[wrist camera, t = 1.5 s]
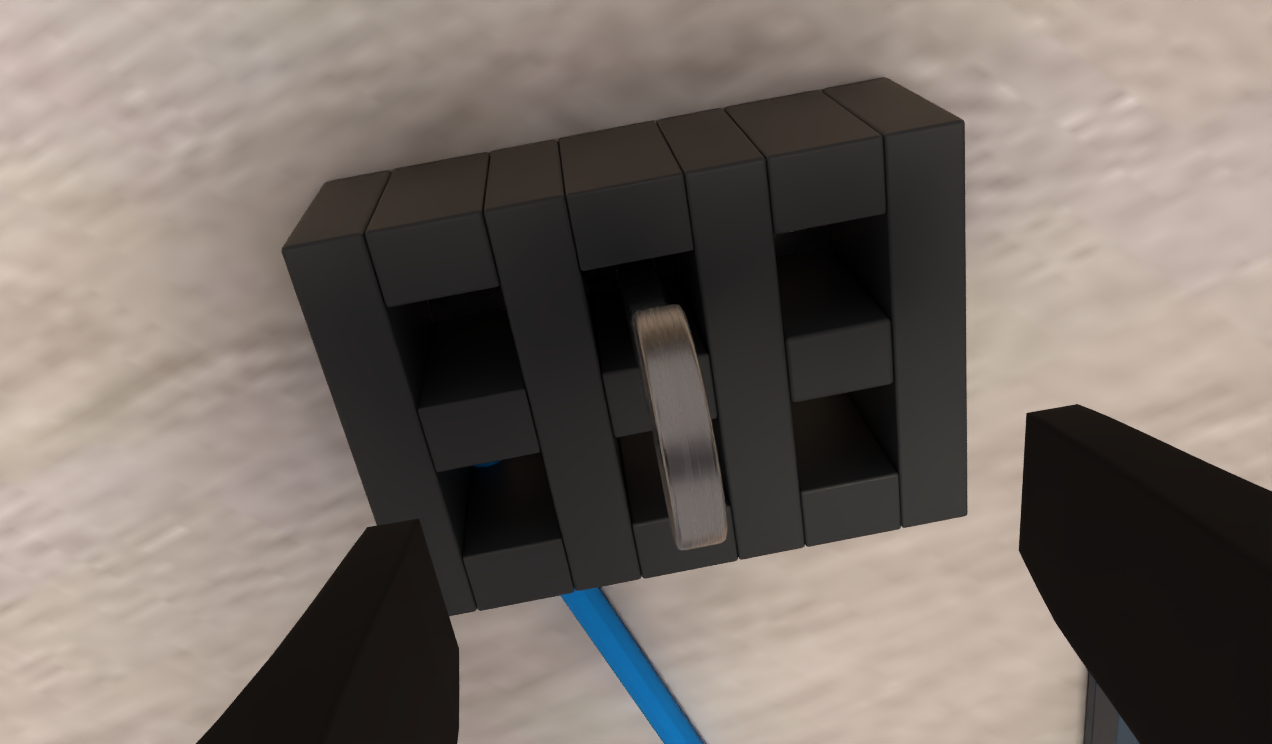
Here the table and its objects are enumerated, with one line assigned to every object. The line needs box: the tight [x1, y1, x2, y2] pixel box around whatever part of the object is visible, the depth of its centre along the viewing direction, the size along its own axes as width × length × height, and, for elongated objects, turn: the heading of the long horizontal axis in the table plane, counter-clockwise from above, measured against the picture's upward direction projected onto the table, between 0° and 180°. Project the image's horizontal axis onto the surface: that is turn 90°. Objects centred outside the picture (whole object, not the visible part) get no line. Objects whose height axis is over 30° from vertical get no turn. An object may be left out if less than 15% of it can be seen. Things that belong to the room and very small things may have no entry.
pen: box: [473, 460, 703, 744], centre depth 26 cm, size 1×19×1 cm, turn 26°
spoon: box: [614, 258, 727, 550], centre depth 17 cm, size 1×3×10 cm, turn 10°
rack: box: [282, 78, 967, 616], centre depth 20 cm, size 12×8×4 cm
